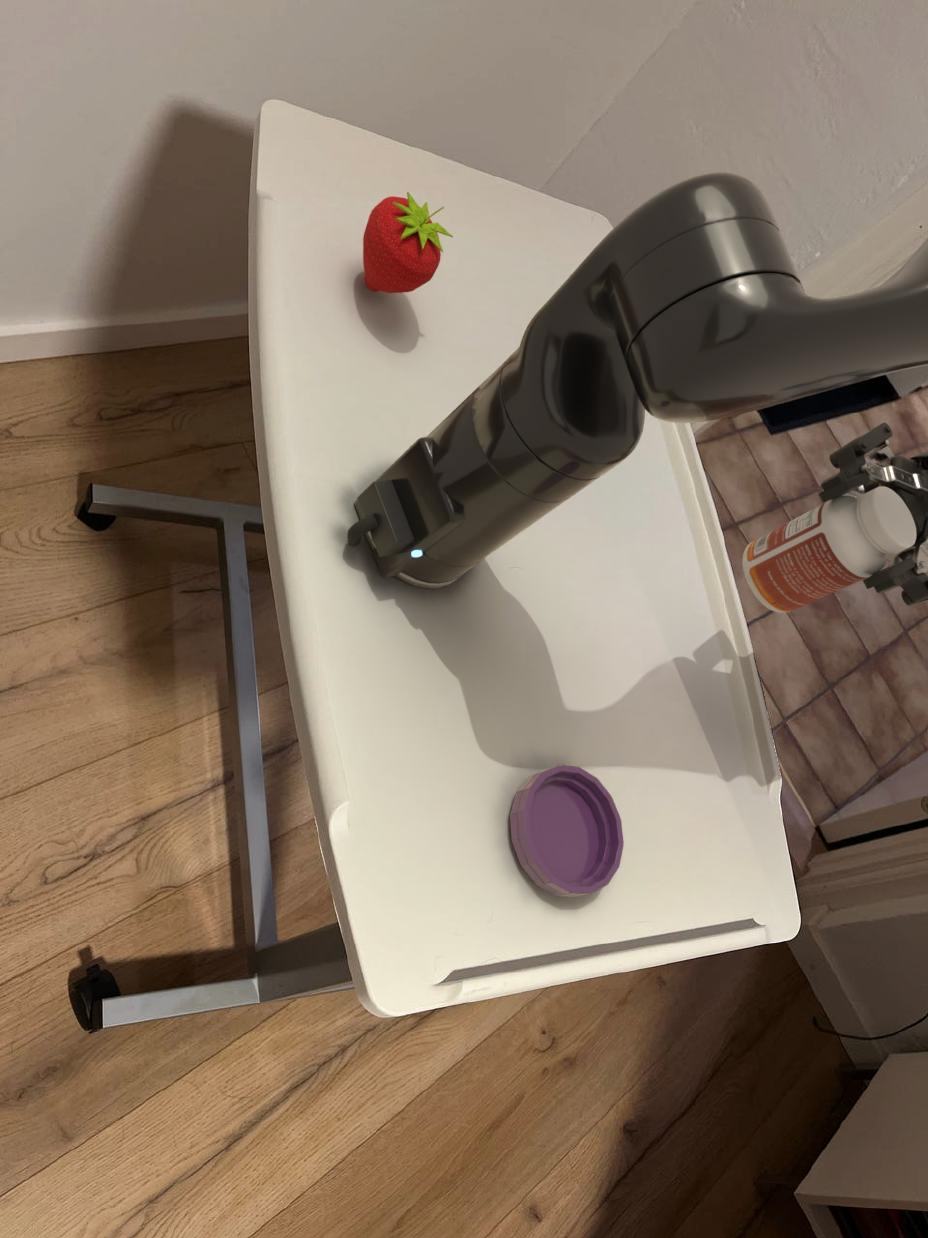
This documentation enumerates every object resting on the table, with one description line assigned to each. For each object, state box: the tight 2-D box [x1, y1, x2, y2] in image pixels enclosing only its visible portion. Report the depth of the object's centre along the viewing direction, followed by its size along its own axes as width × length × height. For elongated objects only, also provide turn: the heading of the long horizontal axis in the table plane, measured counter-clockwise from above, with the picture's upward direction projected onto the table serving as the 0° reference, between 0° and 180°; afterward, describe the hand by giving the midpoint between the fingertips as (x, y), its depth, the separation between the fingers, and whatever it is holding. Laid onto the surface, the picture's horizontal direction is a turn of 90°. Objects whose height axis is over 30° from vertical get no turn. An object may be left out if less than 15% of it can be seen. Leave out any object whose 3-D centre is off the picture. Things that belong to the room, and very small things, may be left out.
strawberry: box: [362, 191, 454, 294], centre depth 71 cm, size 6×8×10 cm
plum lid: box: [509, 764, 625, 898], centre depth 65 cm, size 9×9×2 cm
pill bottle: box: [741, 486, 916, 614], centre depth 66 cm, size 6×6×11 cm
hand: (854, 536), depth 62 cm, fingers closed on pill bottle, 6 cm apart
